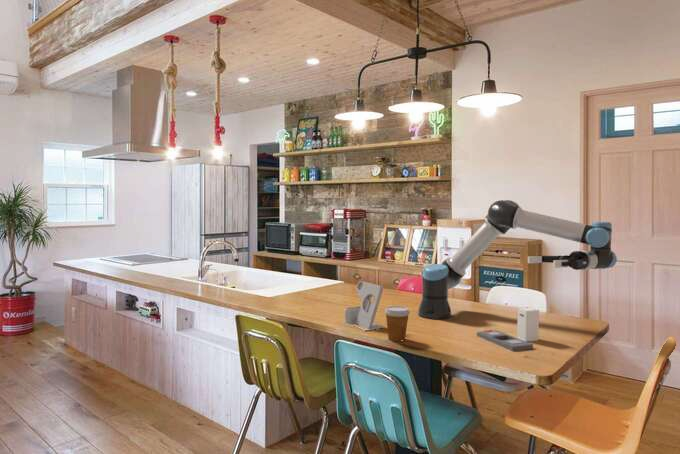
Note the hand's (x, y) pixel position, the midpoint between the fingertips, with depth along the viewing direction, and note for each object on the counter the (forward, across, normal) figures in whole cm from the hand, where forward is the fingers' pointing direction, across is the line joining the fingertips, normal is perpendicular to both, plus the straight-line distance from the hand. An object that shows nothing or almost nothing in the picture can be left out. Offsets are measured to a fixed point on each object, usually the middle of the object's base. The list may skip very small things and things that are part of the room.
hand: (540, 261), depth 190 cm
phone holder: (+59, +38, -30) cm, 77 cm away
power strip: (+21, -5, -30) cm, 37 cm away
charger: (+10, -5, -30) cm, 32 cm away
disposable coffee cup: (+55, +15, -30) cm, 64 cm away
